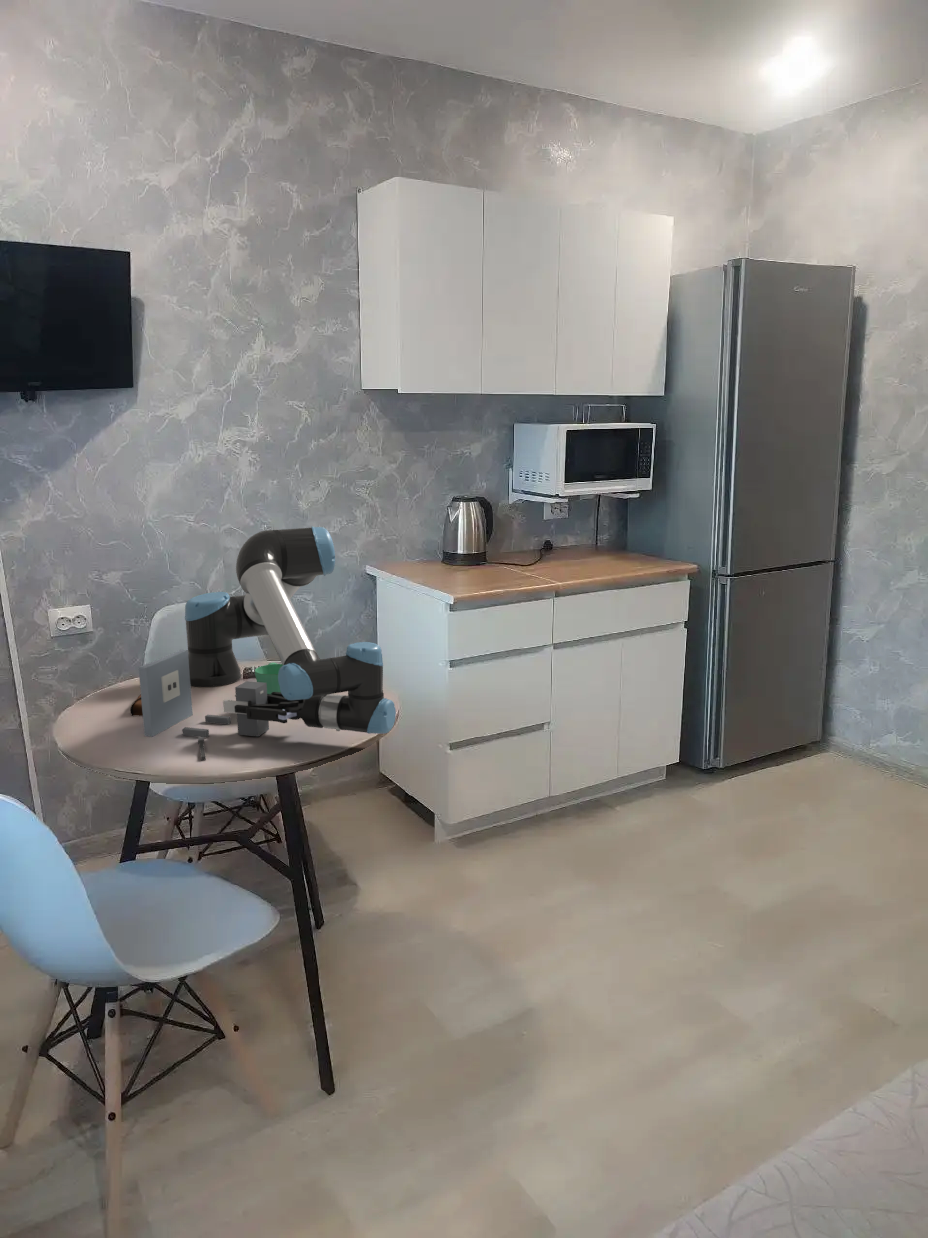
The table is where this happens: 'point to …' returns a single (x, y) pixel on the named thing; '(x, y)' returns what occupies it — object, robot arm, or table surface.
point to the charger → (256, 695)
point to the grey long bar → (202, 748)
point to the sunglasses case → (137, 707)
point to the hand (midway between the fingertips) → (231, 702)
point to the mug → (269, 676)
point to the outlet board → (169, 695)
